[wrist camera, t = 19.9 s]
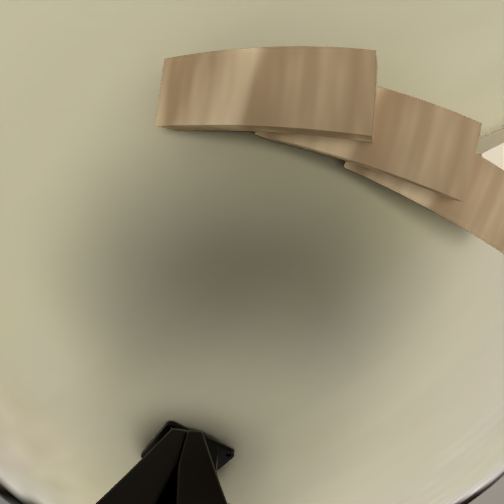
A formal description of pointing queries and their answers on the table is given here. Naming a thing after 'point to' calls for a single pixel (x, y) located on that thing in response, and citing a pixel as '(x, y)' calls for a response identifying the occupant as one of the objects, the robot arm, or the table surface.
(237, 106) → the maple domino
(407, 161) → the maple domino
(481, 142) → the cream domino
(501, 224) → the maple domino
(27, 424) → the table surface
